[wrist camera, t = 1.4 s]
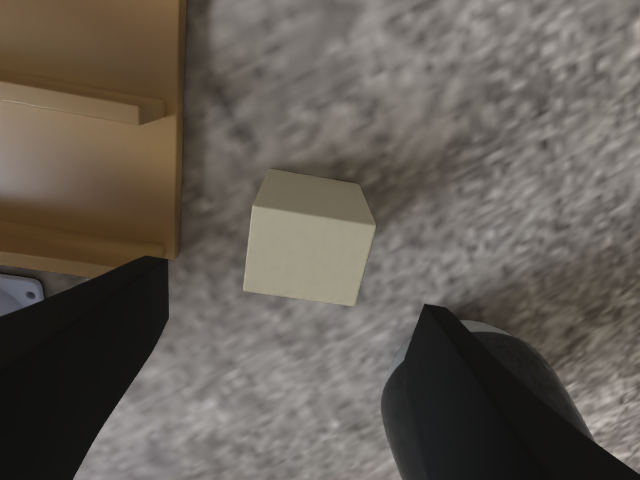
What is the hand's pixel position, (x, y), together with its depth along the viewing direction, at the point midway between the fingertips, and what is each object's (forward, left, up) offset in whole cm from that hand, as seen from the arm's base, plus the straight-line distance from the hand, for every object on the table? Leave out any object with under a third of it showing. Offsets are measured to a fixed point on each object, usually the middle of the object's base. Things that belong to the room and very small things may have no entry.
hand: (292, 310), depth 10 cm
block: (-1, -1, -11) cm, 11 cm away
